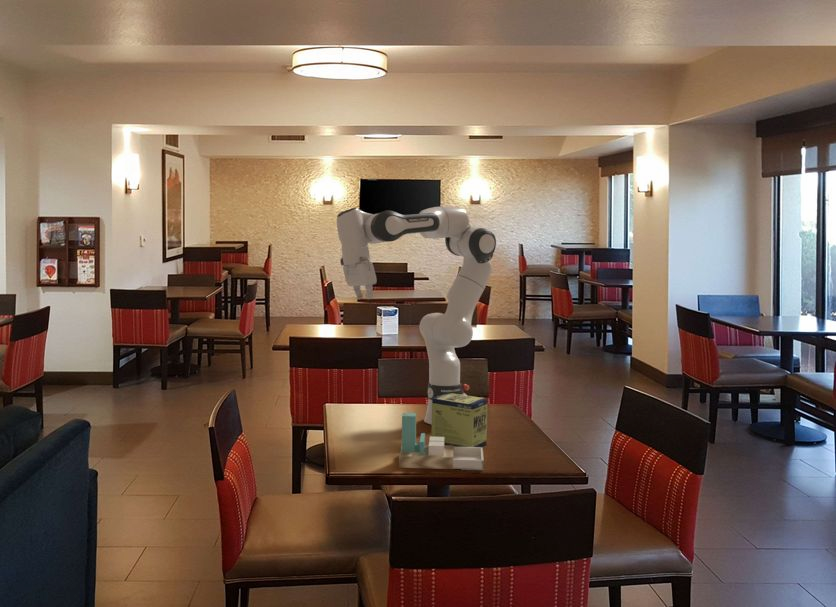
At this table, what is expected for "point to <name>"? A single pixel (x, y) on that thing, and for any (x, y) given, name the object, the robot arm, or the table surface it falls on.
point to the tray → (468, 458)
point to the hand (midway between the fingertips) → (365, 298)
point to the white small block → (436, 448)
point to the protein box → (460, 420)
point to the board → (427, 459)
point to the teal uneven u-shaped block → (411, 435)
